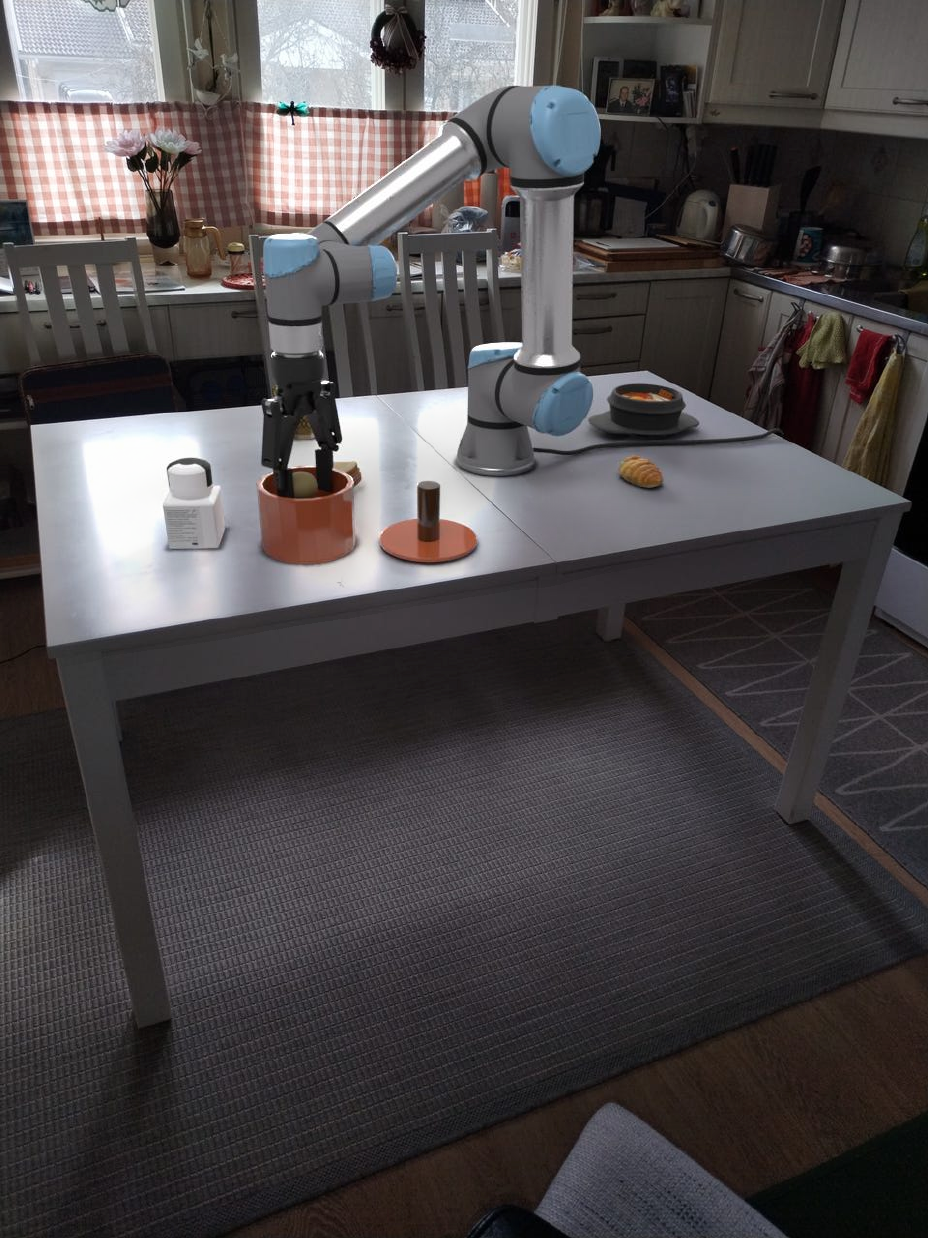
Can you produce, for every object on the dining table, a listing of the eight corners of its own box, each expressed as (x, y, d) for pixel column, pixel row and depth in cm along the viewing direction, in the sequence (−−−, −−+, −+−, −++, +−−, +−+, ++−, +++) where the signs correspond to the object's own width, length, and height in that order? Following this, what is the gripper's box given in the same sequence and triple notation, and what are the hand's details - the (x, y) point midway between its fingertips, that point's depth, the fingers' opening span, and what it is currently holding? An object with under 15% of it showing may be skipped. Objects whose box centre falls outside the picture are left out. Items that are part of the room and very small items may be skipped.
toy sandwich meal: (311, 471, 175) (310, 447, 173) (372, 484, 170) (371, 460, 168) (271, 492, 165) (269, 467, 163) (334, 507, 160) (333, 482, 158)
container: (177, 529, 151) (167, 453, 144) (225, 528, 151) (217, 453, 145) (168, 549, 144) (157, 471, 138) (219, 549, 145) (209, 470, 138)
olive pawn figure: (320, 549, 144) (311, 487, 137) (284, 545, 145) (272, 484, 138) (332, 528, 148) (324, 467, 141) (297, 525, 149) (286, 464, 142)
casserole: (671, 413, 214) (676, 377, 210) (714, 438, 199) (721, 400, 195) (573, 421, 207) (576, 384, 202) (610, 448, 191) (615, 408, 187)
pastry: (671, 487, 173) (674, 468, 171) (641, 492, 170) (644, 473, 168) (642, 470, 180) (644, 452, 178) (613, 475, 178) (615, 456, 176)
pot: (361, 527, 153) (359, 467, 148) (347, 566, 141) (344, 502, 135) (274, 523, 154) (269, 463, 149) (252, 562, 141) (246, 498, 136)
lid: (478, 526, 155) (480, 469, 150) (474, 567, 141) (476, 506, 136) (386, 522, 155) (385, 465, 150) (373, 563, 142) (372, 501, 137)
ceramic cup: (337, 433, 195) (335, 386, 190) (306, 445, 188) (302, 397, 183) (290, 421, 201) (287, 376, 196) (258, 433, 194) (254, 386, 189)
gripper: (324, 334, 142) (331, 474, 153) (224, 361, 126) (239, 514, 137) (363, 341, 138) (367, 484, 149) (264, 370, 123) (277, 526, 134)
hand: (306, 498), depth 143 cm, fingers open, 8 cm apart
